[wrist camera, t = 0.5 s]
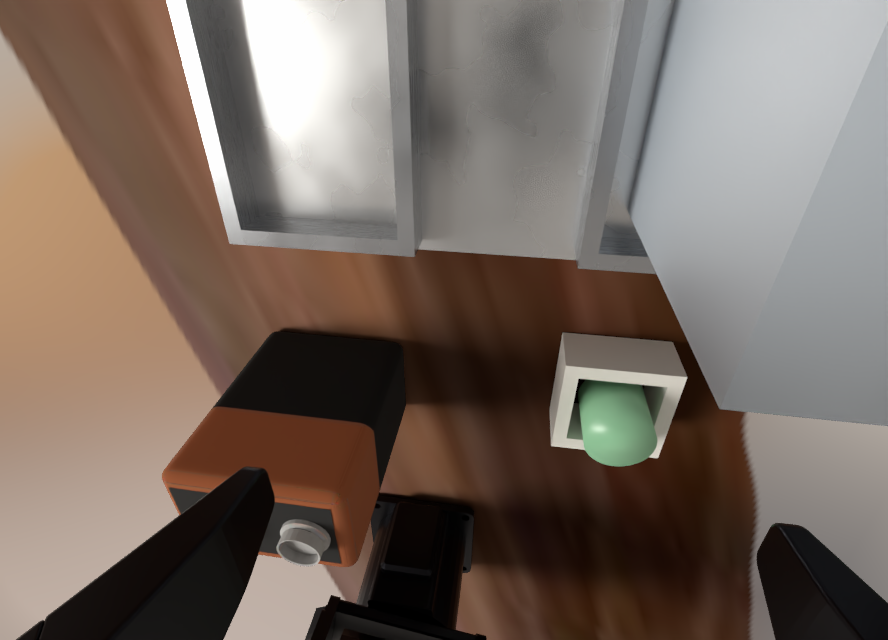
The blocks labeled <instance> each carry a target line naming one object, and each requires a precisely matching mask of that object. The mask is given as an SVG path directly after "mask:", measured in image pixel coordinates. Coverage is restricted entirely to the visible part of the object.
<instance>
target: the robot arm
mask: <svg viewBox="0 0 888 640" xmlns="http://www.w3.org/2000/svg"><path fill="white" fill-rule="evenodd" d="M274 504H275V496H274V492H273V489H272V485H271V482H270V479H269V475H268V473H267V471H266V470H265V469H264V468H259V467H249V466H248V467H243V468H241V469H240V470H238V471H237V472H236V473H234V474H233V475H232V476H230V477H229V478H228V479H226V480H225V481H224V482H223V483H221V484H220V485H219V486H217V487H216V488H215V489H213V490H212V491H211V492H209V493H208V494H207V495H205V496H204V497H203V498H201V499H200V500H199V501H198V502H196V503H195V504H194V505H192V506H191V507H190V508H188V509H187V510H186V511H184V512H183V513H182V514H180V515H179V516H178V517H177V518H175V519H174V520H173V521H171V522H170V523H169V524H167V525H166V526H165V527H164V528H162V529H161V530H159V531H158V532H157V533H156V534H154V535H153V536H152V537H150V538H149V539H148V540H146V541H145V542H144V543H143V544H141V545H140V546H139V547H137V548H136V549H135V550H133V551H132V552H131V553H130V554H128V555H127V556H125V557H124V558H123V559H121V560H120V561H119V562H117V563H116V564H115V565H114V566H112V567H111V568H110V569H108V570H107V571H106V572H105V573H103V574H102V575H100V576H99V577H98V578H97V579H95V580H94V581H93V582H91V583H90V584H89V585H87V586H86V587H85V588H84V589H82V590H81V591H79V592H78V593H77V594H76V595H74V596H73V597H72V598H70V599H69V600H68V601H66V602H65V603H64V604H62V605H61V606H60V607H59V608H57V609H56V610H54V611H53V612H52V613H51V614H49V615H48V616H47V617H46V619H45V621H44V620H42V621H40V622H38V623H37V624H36V625H35V626H33V627H32V628H31V629H29V630H28V631H27V632H25V633H24V634H23V635H21V636H20V637H19V638H17V639H16V640H223V639H224V637H225V635H226V632H227V630H228V628H229V626H230V623H231V621H232V619H233V617H234V615H235V613H236V610H237V608H238V606H239V604H240V602H241V599H242V597H243V594H244V592H245V590H246V587H247V584H248V582H249V579H250V576H251V574H252V571H253V568H254V565H255V562H256V559H257V556H258V553H259V550H260V547H261V544H262V541H263V538H264V535H265V532H266V529H267V526H268V523H269V520H270V517H271V514H272V512H273V508H274ZM371 527H372V534H373V542H374V544H373V548H372V551H371V554H370V558H369V561H368V565H367V568H366V572H365V575H364V579H363V582H362V585H361V589H360V592H359V596H358V599H357V603H356V604H355V603H352V602H348V601H344V600H340V597H336V596H332V595H331V597H330V599H329V602H328V605H326V606H325V607H320V608H316V611H315V614H314V617H313V620H312V622H311V625H310V628H309V631H308V633H307V636H306V639H305V640H486V636H484V635H480V634H477V633H476V635H473V634H469V633H465V632H461V631H458V630H456V622H457V614H458V606H459V597H460V589H461V581H462V573H467V572H469V571H470V570H471V559H472V543H473V528H474V511H473V510H472V509H471V508H468V507H462V506H454V505H447V504H439V503H432V502H424V501H417V500H409V499H402V498H394V497H387V496H379V495H378V497H377V501H376V504H375V507H374V510H373V514H372V517H371ZM757 566H758V570H759V574H760V578H761V582H762V586H763V590H764V595H765V598H766V603H767V607H768V610H769V615H770V619H771V623H772V627H773V631H774V635H775V639H776V640H888V603H887V602H886V601H885V600H884V599H883V598H882V597H880V596H879V595H878V594H877V593H876V592H875V591H874V590H873V589H872V588H871V587H869V586H868V585H867V584H866V583H865V582H864V581H863V580H862V579H861V578H859V576H857V575H856V574H855V573H854V572H853V571H852V570H851V569H850V568H849V567H847V566H846V565H845V564H844V563H843V562H842V561H841V560H840V559H839V558H838V557H837V556H835V555H834V554H833V553H832V552H831V551H830V550H829V549H828V548H826V547H825V545H823V544H822V543H821V542H820V541H819V540H818V539H817V538H816V537H815V536H814V535H812V534H811V533H810V532H809V531H808V530H807V529H805V528H804V527H802V526H799V525H793V524H784V523H775V524H773V525H772V526H771V527H770V529H769V531H768V533H767V535H766V536H765V538H764V541H763V542H762V544H761V546H760V548H759V550H758V552H757Z"/></svg>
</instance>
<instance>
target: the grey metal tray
mask: <svg viewBox="0 0 888 640" xmlns="http://www.w3.org/2000/svg"><path fill="white" fill-rule="evenodd" d="M166 1H167V5H168V9H169V12H170V16H171V20H172V24H173V28H174V32H175V35H176V39H177V43H178V47H179V51H180V55H181V59H182V62H183V66H184V70H185V74H186V78H187V82H188V85H189V89H190V93H191V97H192V101H193V105H194V109H195V112H196V116H197V120H198V124H199V128H200V132H201V135H202V139H203V143H204V147H205V151H206V155H207V159H208V162H209V166H210V170H211V174H212V178H213V182H214V185H215V189H216V193H217V197H218V201H219V205H220V209H221V212H222V216H223V220H224V224H225V228H226V232H227V235H228V239H229V243H230V244H240V245H254V246H268V247H282V248H296V249H310V250H324V251H339V252H353V253H367V254H381V255H395V256H409V257H415V255H416V253H417V251H418V249H422V250H437V251H451V252H466V253H481V254H495V255H510V256H524V257H539V258H553V259H568V260H576V262H577V267H578V268H579V269H593V270H608V271H622V272H636V273H650V274H656V271H655V269H654V267H653V265H652V263H651V261H650V258H649V256H648V254H647V252H646V250H645V248H644V246H643V243H642V241H641V239H640V237H639V235H638V233H637V231H636V228H635V226H634V224H633V222H632V220H631V218H630V215H629V213H628V209H629V204H630V200H631V195H632V191H633V186H634V182H635V177H636V173H637V168H638V164H639V159H640V155H641V150H642V146H643V141H644V137H645V132H646V128H647V123H648V119H649V114H650V110H651V105H652V101H653V97H654V92H655V88H656V83H657V79H658V74H659V70H660V65H661V61H662V56H663V52H664V47H665V43H666V38H667V34H668V29H669V25H670V20H671V16H672V11H673V7H674V2H675V0H166Z"/></svg>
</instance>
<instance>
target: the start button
mask: <svg viewBox="0 0 888 640" xmlns="http://www.w3.org/2000/svg"><path fill="white" fill-rule="evenodd" d="M578 402H579V410H580V418H581V427H582V435H583V443H584V448H585V450H586V452H587V453H588V455H589V456H590V457H591V458H593V459H594V460H596V461H598V462H600V463H602V464H606V465H610V466H629V465H633V464H637V463H639V462H641V461H643V460H645V459H647V458H648V457H649V456H650V455H651V454H652V453H653V452H654V450H655V449H656V446H657V435H656V432H655V428H654V425H653V421H652V418H651V415H650V411H649V408H648V404H647V401H646V397H645V394H644V391H643V387H642V385H639V384H628V383H618V382H608V381H598V380H588V379H586V380H585V381H584V382H583V383H582V385H581V386H580V388H579V391H578Z"/></svg>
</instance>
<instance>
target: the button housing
mask: <svg viewBox="0 0 888 640" xmlns="http://www.w3.org/2000/svg"><path fill="white" fill-rule="evenodd" d="M578 379H588V380H598V381H608V382H618V383H628V384H639V385H645V386H644V389H643V391H644V394H645V397H646V401H647V404H648V408H649V411H650V415H651V418H652V421H653V425H654V428H655V432H656V435H657V446H656V449H655V450H654V452H653V453H652V454H651V455H650V456H649V457H652V458H658V457H659V454H660V451H661V448H662V446H663V443H664V440H665V438H666V435H667V432H668V429H669V427H670V424H671V421H672V418H673V416H674V413H675V410H676V407H677V405H678V402H679V399H680V397H681V394H682V391H683V388H684V386H685V383H686V380H687V375H686V372H685V370H684V368H683V365H682V363H681V361H680V358H679V356H678V353H677V351H676V349H675V346H674V344H673V342H668V341H656V340H645V339H633V338H622V337H610V336H599V335H587V334H576V333H564V332H563V333H562V339H561V345H560V351H559V356H558V362H557V368H556V374H555V380H554V386H553V392H552V398H551V404H550V409H549V410H550V432H551V446H556V447H565V448H573V449H582V450H585V448H584V443H583V435H582V427H581V418H580V410H579V403H574V399H575V394H576V389H577V384H578Z"/></svg>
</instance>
